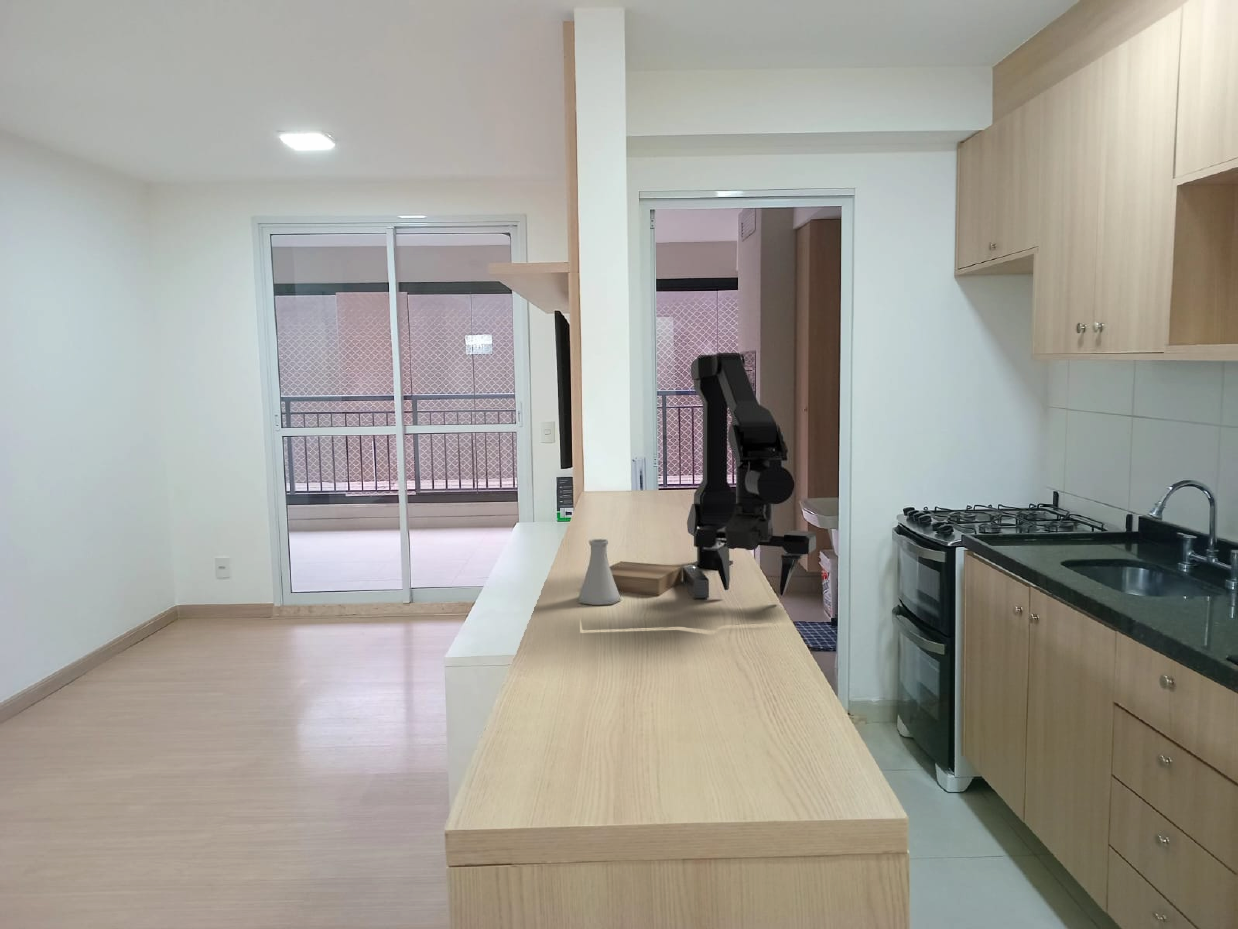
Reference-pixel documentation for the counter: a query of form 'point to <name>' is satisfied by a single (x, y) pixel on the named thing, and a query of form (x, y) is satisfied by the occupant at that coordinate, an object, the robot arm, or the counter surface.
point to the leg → (695, 581)
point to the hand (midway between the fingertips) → (754, 592)
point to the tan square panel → (645, 577)
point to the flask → (598, 577)
